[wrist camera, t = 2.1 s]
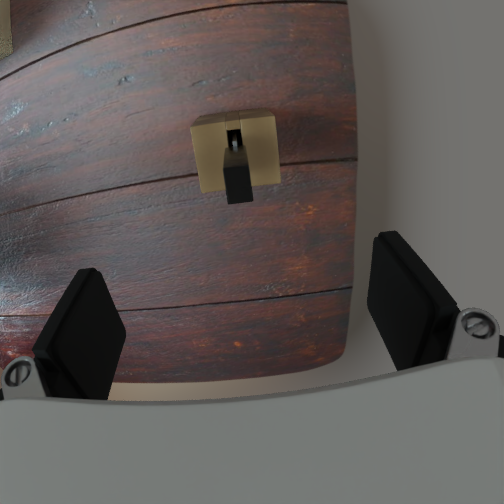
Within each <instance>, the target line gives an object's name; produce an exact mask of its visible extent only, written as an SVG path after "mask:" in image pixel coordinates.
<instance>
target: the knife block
mask: <svg viewBox="0 0 504 504" xmlns="http://www.w3.org/2000/svg"><path fill="white" fill-rule="evenodd" d="M240 128H241V136H242V143H243V145H245V146H246V151H247V156H248V162H249V169H250V177H251V185H252V186H259V185H268V184H276V183H281V175H280V164H279V153H278V142H277V131H276V121H275V116H274V115H273V114H272V113H271V112H270V111H269V110H268V109H266V108H256V109H247V110H239V111H231V112H224V113H217V114H210V115H204V116H200V117H199V118H198V119H197V120H196V121H195V122H194V123H193V125H192V126H191V127H190V130H191V136H192V142H193V147H194V153H195V159H196V165H197V170H198V176H199V182H200V187H201V193H207V192H214V191H221V190H226V189H225V182H224V176H223V161H224V153H225V148H227V147H232V146H231V138H230V131H229V130H235V129H240Z"/></svg>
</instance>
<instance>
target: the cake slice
mask: <svg viewBox="0 0 504 504" xmlns="http://www.w3.org/2000/svg"><path fill="white" fill-rule="evenodd" d="M12 53H13V46H12V33H11V15H10V0H0V60H2V59H3V58H5V57H7V56H9V55H10V54H12Z"/></svg>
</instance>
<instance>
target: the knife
mask: <svg viewBox="0 0 504 504" xmlns="http://www.w3.org/2000/svg"><path fill="white" fill-rule="evenodd" d="M223 176H224V182H225V189H226V195H227V202H228V204H236V203H244V202H252V201H253V193H252V185H251V177H250V169H249V162H248V156H247V151H246V146H245V145H242V146H239V145H238V138H237V130H236V129H235V130H233V147H227V148H225V153H224V161H223Z"/></svg>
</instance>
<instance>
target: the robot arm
mask: <svg viewBox="0 0 504 504" xmlns="http://www.w3.org/2000/svg"><path fill="white" fill-rule="evenodd" d="M456 305H457V303H456V302H455V300H454V299H453V298H452V297H451V295H450V294H449V293H448V291H447V290H446V289H445V288H444V286H443V285H442V284H441V283H440V281H439V280H438V279H437V278H436V277H435V275H434V274H433V273H432V271H431V270H430V269H429V268H428V267H427V265H426V264H425V263H424V262H423V261H422V259H421V258H420V257H419V256H418V255H417V254H416V252H415V251H414V250H413V249H412V248H411V247H410V246H409V244H408V243H407V242H406V241H405V240H404V239H403V238H402V237H401V235H400V234H399V233H398V232H397V231H387V232H380V233H379V235H378V237H375V238H374V242H373V252H372V264H371V273H370V281H369V289H368V297H367V306H368V309H369V312H370V314H371V316H372V318H373V320H374V322H375V324H376V326H377V328H378V330H379V332H380V335H381V337H382V339H383V341H384V343H385V345H386V347H387V349H388V352H389V354H390V355H391V358H392V360H393V362H394V365H395V367H396V369H397V372H392V373H388V374H383V375H379V376H374V377H369V378H364V379H360V380H354V381H349V382H344V383H339V384H333V385H328V386H322V387H316V388H309V389H303V390H297V391H288V392H281V393H273V394H265V395H255V396H245V397H235V398H221V399H205V400H183V401H111V400H107V399H108V396H109V392H110V389H111V385H112V381H113V378H114V374H115V371H116V368H117V364H118V361H119V358H120V354H121V351H122V348H123V345H124V342H125V338H126V330H125V327H124V325H123V323H122V320H121V318H120V316H119V314H118V312H117V309H116V307H115V305H114V302H113V300H112V298H111V295H110V293H109V291H108V288H107V286H106V283H105V281H104V278H103V276H102V274H101V272H100V271H97V270H96V269H95V268H86V269H80V270H78V272H77V273H76V275H75V276H74V278H73V279H72V281H71V282H70V284H69V286H68V287H67V289H66V290H65V292H64V294H63V295H62V297H61V299H60V300H59V302H58V304H57V305H56V307H55V309H54V310H53V312H52V314H51V316H50V317H49V319H48V321H47V323H46V324H45V326H44V328H43V330H42V332H41V333H40V335H39V337H38V339H37V341H36V343H35V344H34V346H33V348H32V351H33V353H34V354H35V358H34V360H33V359H32V358H30V357H27V356H23V357H19V358H17V359H14V360H13V361H12V362H10V363H9V364H8V365H7V366H6V368H5V369H4V371H3V373H2V376H1V385H2V388H1V389H0V504H504V336H502V335H500V328H499V324H498V322H497V320H496V319H495V318H494V317H493V316H492V315H491V314H490V313H488V312H487V311H484V310H482V309H478V308H467V309H465V310H462V311H460V310H459V308H458V307H457V306H456Z"/></svg>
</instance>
